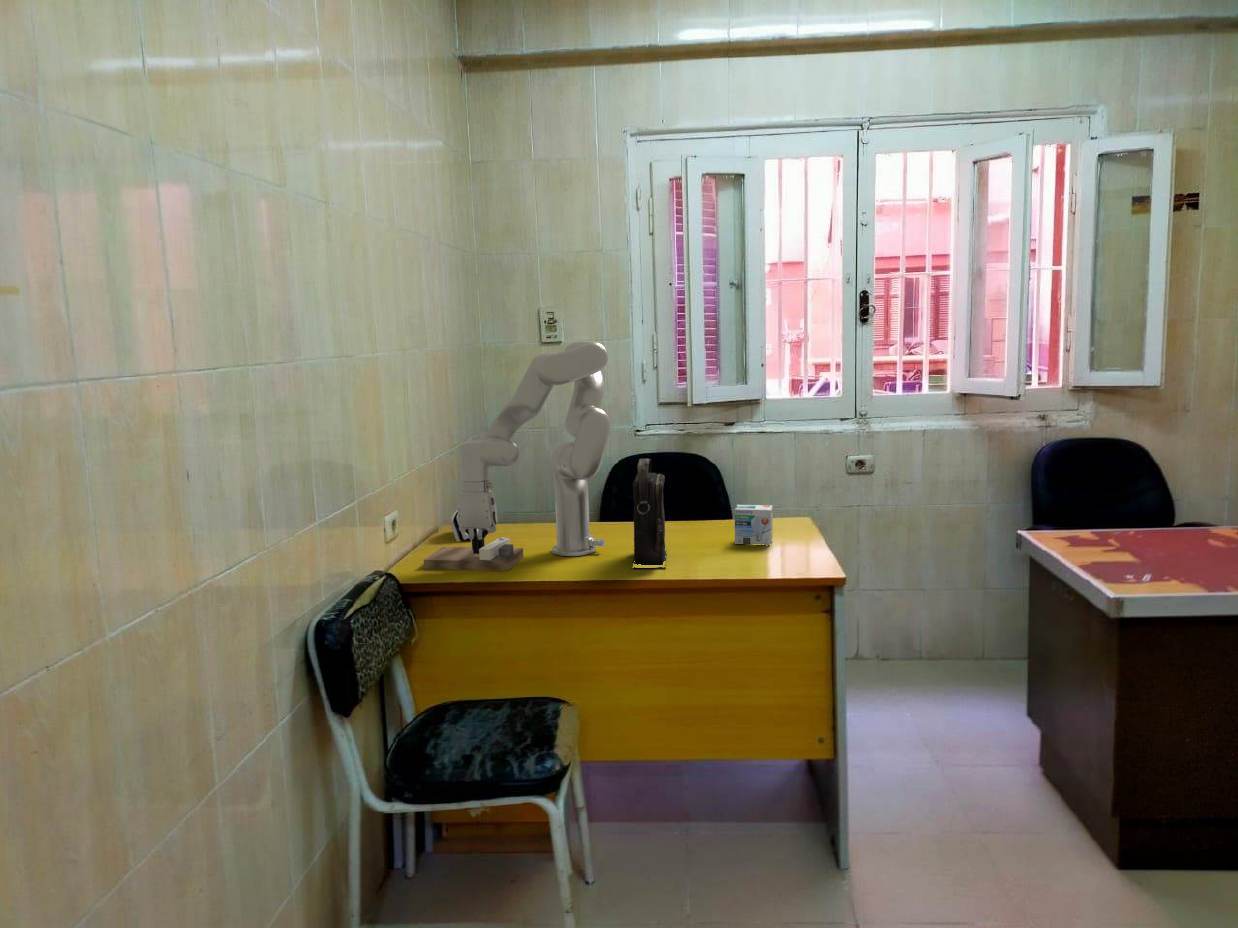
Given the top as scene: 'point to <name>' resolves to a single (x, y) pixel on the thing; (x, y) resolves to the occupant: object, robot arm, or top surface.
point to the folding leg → (492, 548)
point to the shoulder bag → (648, 516)
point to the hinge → (457, 528)
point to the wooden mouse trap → (473, 559)
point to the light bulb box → (754, 524)
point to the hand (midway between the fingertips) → (478, 552)
